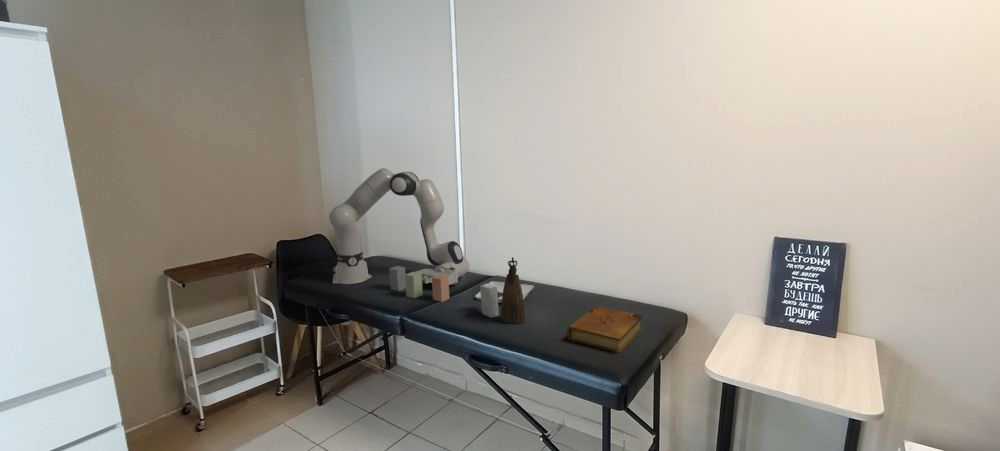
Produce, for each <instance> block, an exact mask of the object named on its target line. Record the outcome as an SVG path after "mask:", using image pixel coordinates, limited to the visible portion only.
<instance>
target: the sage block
mask: <svg viewBox="0 0 1000 451" xmlns="http://www.w3.org/2000/svg"><path fill="white" fill-rule="evenodd" d="M405 282H406V289H405V294H406V295H405V297H407V298H412V299H417V298H418V297H422V296H423V283H422V274H421V273H417V272H416V271H410V272H408V273H405Z"/></svg>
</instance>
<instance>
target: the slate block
mask: <svg viewBox="0 0 1000 451" xmlns="http://www.w3.org/2000/svg"><path fill="white" fill-rule="evenodd" d="M388 272H389V273H388V274H389V286H390V290H392V291H395V292H400V291H403V290H406V282H405V274H406V267H405V266H404V267H403V266H399V265H396V266H393V267H390V268H388Z"/></svg>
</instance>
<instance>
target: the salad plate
mask: <svg viewBox="0 0 1000 451" xmlns="http://www.w3.org/2000/svg"><path fill="white" fill-rule="evenodd" d="M489 284H491V285H494V286H497V293H500V294H501V293H502V294H503V289H504V284H505V281H494V280H491V281H490V282H489ZM520 284H521V288H522V294H523V301H524V300H525V299H526V297H527V296H528V294H529V293H530V292H531V291H532V290H533V289H534V288H535V286H534V285H532V284H531V285H530V284H525V283H523V284H522V283H520ZM474 297H475V298H476V299H477V300H478V301H481V291H479V292H478V293H476V294H475V295H474ZM498 304H502V295H500V296H498Z"/></svg>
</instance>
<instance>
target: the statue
mask: <svg viewBox="0 0 1000 451" xmlns="http://www.w3.org/2000/svg"><path fill="white" fill-rule="evenodd" d="M507 265H508V267H509V269H508V273H507V274H506V277H505V281H504V282H505V284H504V289H503V293H502V295H501V296H502V303H501V306H500V307H501V309H500V320H501V321H502V322H504V323H507V324H511V325H512V324H513V325H518V324H523V323H525V321H526V316H525V315H526V314H525V304H524V302H525V301H524V300H523V294H522V288H521V284H522V283H521V280H520V277H519V274H518V273H517V265H518V261H517V260H515V258H514V257H511V260H510V261H507Z"/></svg>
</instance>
